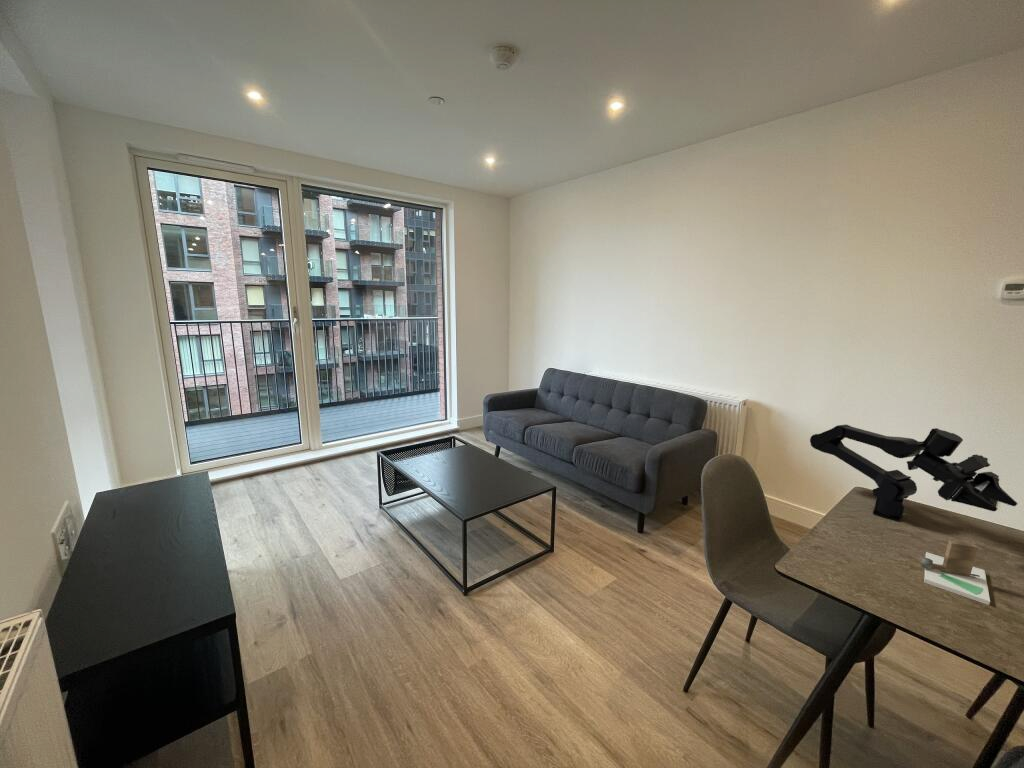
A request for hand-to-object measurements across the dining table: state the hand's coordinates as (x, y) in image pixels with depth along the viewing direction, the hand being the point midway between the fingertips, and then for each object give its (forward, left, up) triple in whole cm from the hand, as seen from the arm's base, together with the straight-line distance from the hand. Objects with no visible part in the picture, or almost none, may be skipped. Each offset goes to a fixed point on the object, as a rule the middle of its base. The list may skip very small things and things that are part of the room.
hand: (1006, 507), depth 110 cm
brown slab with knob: (-9, -19, -14) cm, 25 cm away
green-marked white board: (-7, -19, -15) cm, 25 cm away
